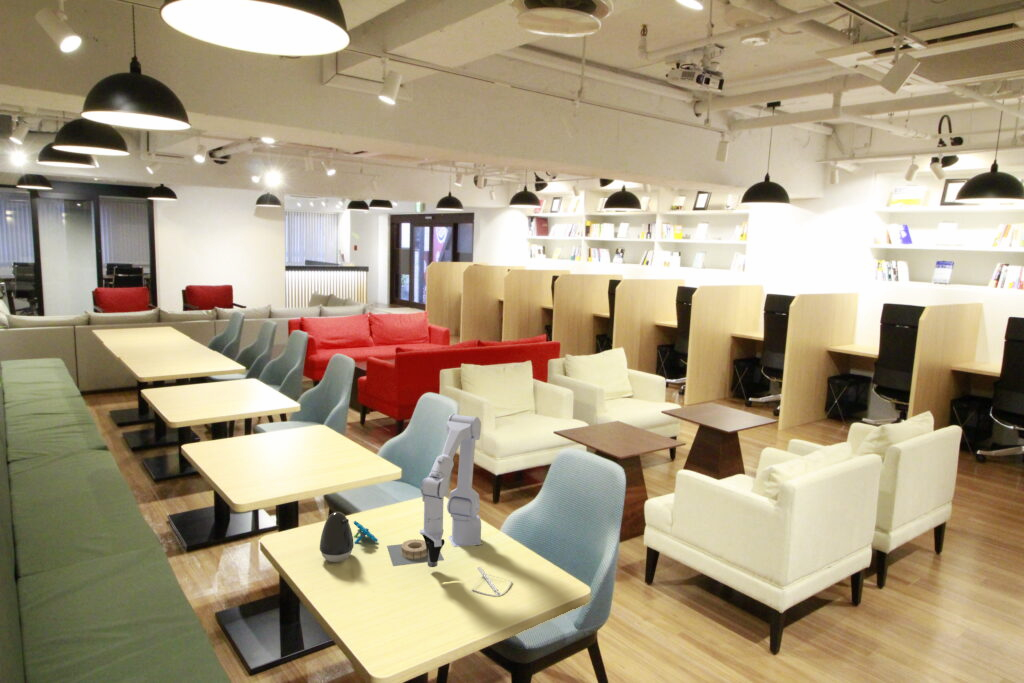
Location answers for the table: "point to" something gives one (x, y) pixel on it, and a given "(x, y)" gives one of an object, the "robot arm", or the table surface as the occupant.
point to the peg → (431, 564)
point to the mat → (400, 560)
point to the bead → (414, 549)
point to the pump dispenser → (336, 538)
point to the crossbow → (490, 584)
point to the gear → (363, 533)
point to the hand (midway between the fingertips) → (432, 558)
